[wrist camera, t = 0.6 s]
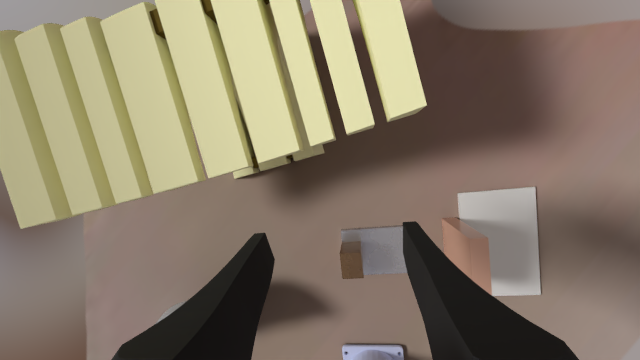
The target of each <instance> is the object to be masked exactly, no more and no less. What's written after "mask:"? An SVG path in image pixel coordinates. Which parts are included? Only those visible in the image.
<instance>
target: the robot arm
mask: <svg viewBox="0 0 640 360" xmlns="http://www.w3.org/2000/svg"><path fill="white" fill-rule="evenodd" d="M403 255H404V260H405V264H406V269H407V273H408V276H409V279H410V282H411V285H412V288H413V290H414V293H415V296H416V299H417V302H418V305H419V308H420V311H421V314H422V317H423V321H424V324H425V328H426V332H427V336H428V340H429V344H430V349H431V353H432V357H433V360H579V359H578V358H577V357H576V355H575V354H574V353H573V352H572V351H571V349H570V348H569V347H568V346H567V345H566V344H565V342H564V341H562V340H561V339H559V338H557V337H556V336H554V335H552V334H550V333H549V332H547V331H545V330H543V329H542V328H540V327H538V326H537V325H535V324H533V323H531V322H530V321H528V320H527V319H525V318H524V317H522V316H521V315H519V314H517V313H516V312H514V311H513V310H511V309H510V308H508V307H507V306H506V305H504V304H503V303H501V302H500V301H499V300H497V299H496V298H494V297H493V296H492V295H490V294H489V293H488V292H486V291H485V290H484V289H482V288H481V287H480V286H479V285H477V284H476V283H475V282H474V281H473V280H471V279H470V278H469V277H468V276H467V275H466V274H464V273H463V272H462V271H461V270H460V269H459V268H458V267H457V266H456V265H455V264H454V263H453V262H452V261H451V260H450V259H449V258H448V257H447V256H446V255H445V254H444V253H443V252H442V251H441V250H440V249H439V248H438V247H437V246H436V245H435V244H434V242H433V241H432V240H431V239H430V238H429V237H428V236H427V234H426V233H425V232H424V231H423V229H422V228H421V227H420V225H419V224H418V223H417V222H416V221H415V222H403ZM274 260H275V259H274V256H273V254H272V251H271V248H270V245H269V243H268V240H267V237H266V234H265V233H257V234H254V235H253V236H252V237H251V238H250V239H249V240H248V241H247V242H246V244H245V245H244V246H243V247H242V248H241V249H240V250H239V252H238V253H237V254H236V255H235V256H234V257H233V258H232V259H231V260H230V262H229V263H228V264H227V265H226V266H225V267H224V268H223V269H222V270H221V271H220V272H219V273H218V274H217V275H216V276H215V277H214V278H213V279H212V280H211V281H210V282H209V283H208V284H207V285H206V286H204V287H203V288H202V289H201V290H200V291H199V292H198V293H196V294H195V295H194V296H193V297H192V298H190V299H189V300H188V301H187V302H185V303H184V304H183V305H181V306H180V307H179V308H178V309H176V310H175V311H174V312H172V313H171V314H170V315H168V316H167V317H165V318H164V319H162V320H161V321H159V322H158V323H157V324H155V325H154V326H152V327H151V328H149V329H147V330H146V331H144V332H143V333H141V334H139V335H138V336H136V337H134V338H133V339H131V340H129V341H128V342H126V343H124V344H123V345H121V347H120V348H119V350H118V351H117V353H116V354H115V355H114V357H113V358H112V360H251V357H252V351H253V346H254V341H255V336H256V331H257V326H258V322H259V318H260V315H261V312H262V308H263V305H264V302H265V299H266V295H267V292H268V289H269V285H270V282H271V278H272V273H273V267H274ZM342 352H343V360H404V355H403V348H402V346H401V345H343V347H342ZM345 352H348V353H345ZM398 352H401V353H400V354H399V353H398Z"/></svg>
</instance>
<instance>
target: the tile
mask: <svg viewBox="0 0 640 360" xmlns="http://www.w3.org/2000/svg"><path fill="white" fill-rule="evenodd" d="M442 227H443V239H444V252H445V255H446V256H447V257H448V258H449V259H450V260H451V261H452V262H453V263H454V264H455V265H456V266H457V267H458V268H459V269H460V270H461V271H462V272H463V273H464V274H466V275H467V276H468V277H469V278H470V279H471V280H473V281H474V282H475V283H476V284H477V285H479V286H480V287H481V288H482V289H484V290H485V291H486V292H488V293H489V294H490V295H492V286H491V271H490V255H489V240H488V237H486V236H485V235H483V234H481V233H480V232H478V231H477V230H475V229H473V228H472V227H470V226H469V225H467V224H465V223H464V222H462V221H461V220H459V219H457V218H456V217H454V218H442Z"/></svg>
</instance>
